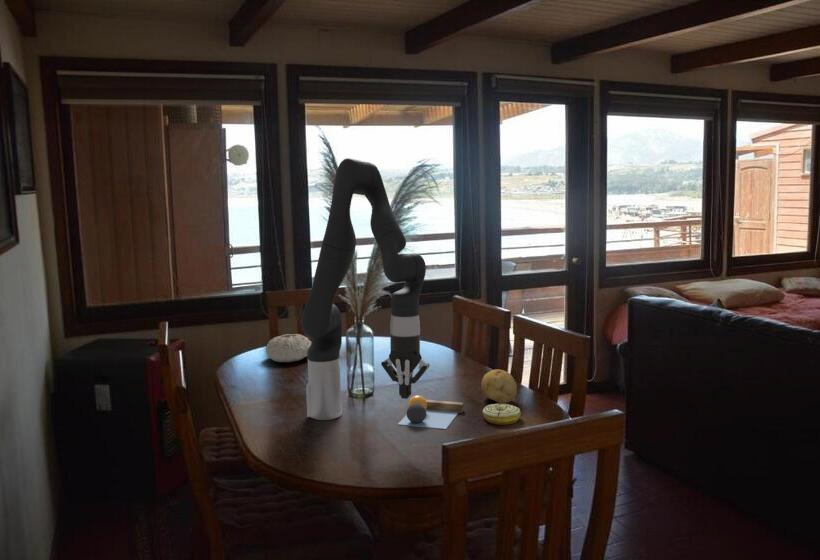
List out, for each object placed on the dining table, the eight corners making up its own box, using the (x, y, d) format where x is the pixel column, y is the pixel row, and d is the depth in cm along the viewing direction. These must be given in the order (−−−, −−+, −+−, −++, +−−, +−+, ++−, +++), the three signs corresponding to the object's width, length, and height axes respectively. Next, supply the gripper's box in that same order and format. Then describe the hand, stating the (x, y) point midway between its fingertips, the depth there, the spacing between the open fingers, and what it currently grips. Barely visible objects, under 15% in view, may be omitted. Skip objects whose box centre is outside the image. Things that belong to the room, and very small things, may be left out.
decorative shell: (261, 357, 265) (260, 333, 264) (305, 352, 273) (304, 328, 271) (272, 368, 249) (271, 342, 248) (318, 362, 257) (317, 336, 255)
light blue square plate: (397, 424, 187) (397, 424, 187) (413, 408, 200) (413, 408, 200) (445, 429, 182) (445, 428, 182) (458, 412, 195) (458, 412, 195)
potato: (503, 393, 212) (503, 363, 211) (522, 405, 200) (522, 373, 199) (474, 397, 209) (473, 366, 208) (491, 410, 197) (491, 377, 196)
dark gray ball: (405, 423, 189) (408, 423, 184) (404, 404, 190) (408, 402, 185) (424, 423, 190) (428, 422, 185) (423, 404, 191) (427, 402, 186)
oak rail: (410, 408, 200) (409, 400, 200) (412, 406, 202) (412, 398, 202) (462, 413, 195) (461, 404, 195) (463, 410, 197) (463, 402, 197)
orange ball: (409, 418, 195) (403, 405, 192) (413, 405, 200) (408, 391, 197) (427, 417, 193) (421, 403, 191) (431, 404, 198) (425, 390, 195)
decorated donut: (505, 411, 197) (505, 399, 196) (528, 422, 187) (528, 409, 187) (475, 417, 192) (475, 404, 191) (497, 429, 182) (497, 415, 182)
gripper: (375, 333, 168) (376, 399, 171) (425, 337, 164) (425, 405, 167) (386, 327, 175) (386, 390, 178) (434, 330, 171) (434, 396, 174)
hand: (405, 397), depth 172 cm, fingers closed
